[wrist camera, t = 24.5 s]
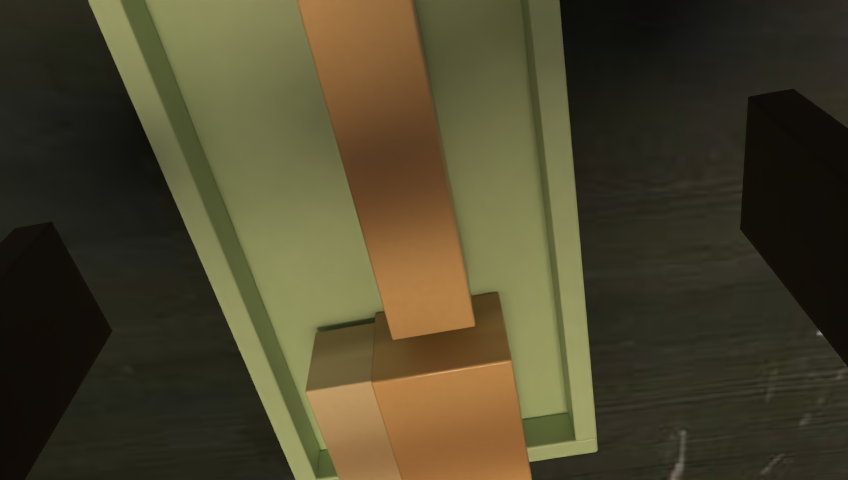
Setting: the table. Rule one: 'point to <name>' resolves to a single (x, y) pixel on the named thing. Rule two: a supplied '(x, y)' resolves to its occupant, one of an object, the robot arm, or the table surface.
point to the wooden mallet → (406, 274)
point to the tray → (332, 201)
